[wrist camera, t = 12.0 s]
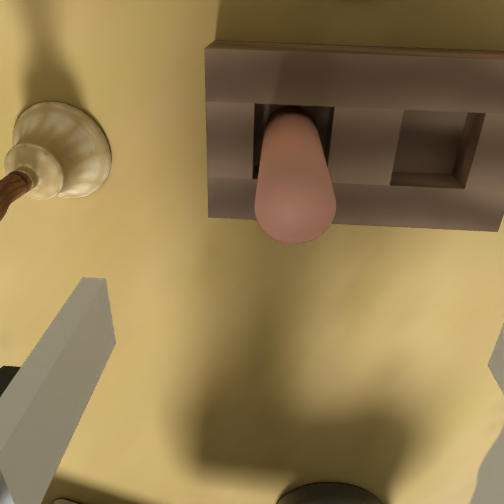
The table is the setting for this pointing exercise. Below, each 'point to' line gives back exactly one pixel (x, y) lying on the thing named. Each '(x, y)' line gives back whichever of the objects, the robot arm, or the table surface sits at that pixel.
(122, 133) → the table surface
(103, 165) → the hand bell
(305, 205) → the pin
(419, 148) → the socket block
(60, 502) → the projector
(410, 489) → the table surface
